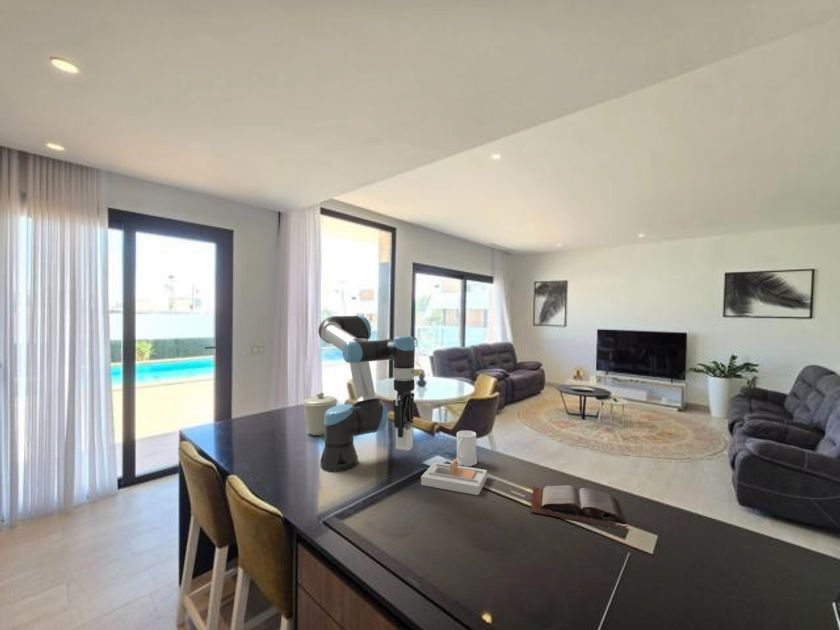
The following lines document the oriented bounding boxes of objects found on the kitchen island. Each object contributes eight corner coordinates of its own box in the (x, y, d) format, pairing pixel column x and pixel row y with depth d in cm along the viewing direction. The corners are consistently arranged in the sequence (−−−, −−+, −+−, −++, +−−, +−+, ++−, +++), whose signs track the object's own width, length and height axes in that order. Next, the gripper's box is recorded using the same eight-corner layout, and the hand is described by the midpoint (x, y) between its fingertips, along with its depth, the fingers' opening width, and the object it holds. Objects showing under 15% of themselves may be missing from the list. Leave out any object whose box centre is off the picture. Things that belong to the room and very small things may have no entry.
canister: (333, 438, 184) (333, 396, 184) (297, 438, 184) (297, 396, 184) (341, 427, 202) (341, 388, 202) (308, 427, 202) (308, 388, 202)
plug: (395, 448, 133) (395, 418, 132) (400, 445, 136) (400, 415, 136) (408, 450, 131) (408, 419, 131) (412, 446, 134) (412, 416, 134)
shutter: (449, 476, 133) (449, 464, 133) (455, 469, 139) (455, 457, 139) (471, 480, 130) (471, 468, 130) (476, 472, 136) (476, 461, 136)
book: (633, 534, 104) (633, 518, 104) (529, 513, 114) (530, 499, 114) (621, 504, 123) (621, 490, 123) (533, 489, 132) (533, 476, 133)
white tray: (421, 484, 133) (421, 474, 133) (434, 469, 146) (434, 460, 146) (478, 495, 125) (478, 484, 125) (487, 478, 138) (487, 468, 138)
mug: (465, 471, 145) (464, 440, 144) (447, 465, 150) (447, 436, 150) (480, 461, 154) (480, 432, 153) (463, 456, 159) (463, 428, 159)
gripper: (403, 384, 124) (403, 453, 124) (422, 375, 140) (422, 437, 140) (383, 382, 127) (384, 450, 127) (404, 374, 143) (404, 434, 143)
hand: (404, 443), depth 134 cm, fingers closed on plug, 4 cm apart
